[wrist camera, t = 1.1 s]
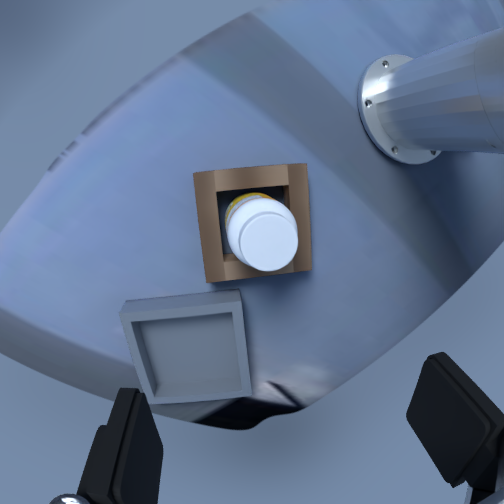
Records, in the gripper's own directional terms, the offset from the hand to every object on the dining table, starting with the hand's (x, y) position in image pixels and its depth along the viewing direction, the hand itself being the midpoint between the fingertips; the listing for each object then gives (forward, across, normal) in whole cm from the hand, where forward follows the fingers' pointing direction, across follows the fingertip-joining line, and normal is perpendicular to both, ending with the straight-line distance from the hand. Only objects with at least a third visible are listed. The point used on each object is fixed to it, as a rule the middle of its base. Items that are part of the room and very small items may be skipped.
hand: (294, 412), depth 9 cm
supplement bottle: (+23, -1, -2) cm, 23 cm away
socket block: (+23, -1, -2) cm, 23 cm away
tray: (+22, +6, +12) cm, 26 cm away
